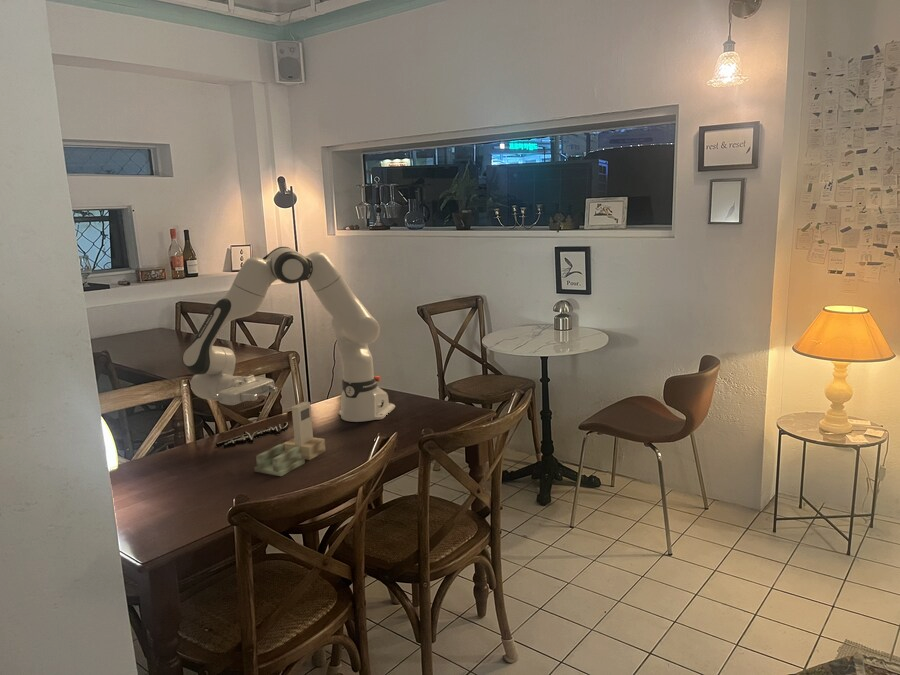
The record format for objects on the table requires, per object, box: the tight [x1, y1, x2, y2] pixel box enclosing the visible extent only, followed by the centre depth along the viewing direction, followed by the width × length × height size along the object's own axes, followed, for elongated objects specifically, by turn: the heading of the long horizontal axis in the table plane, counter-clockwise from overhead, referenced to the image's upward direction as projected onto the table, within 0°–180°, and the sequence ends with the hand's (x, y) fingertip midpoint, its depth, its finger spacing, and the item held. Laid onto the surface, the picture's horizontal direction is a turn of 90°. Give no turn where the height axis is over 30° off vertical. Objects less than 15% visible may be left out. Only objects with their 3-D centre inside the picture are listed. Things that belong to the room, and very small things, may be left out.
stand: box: [282, 436, 326, 461], centre depth 214 cm, size 8×10×4 cm
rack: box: [253, 443, 306, 477], centre depth 203 cm, size 11×10×5 cm
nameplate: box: [215, 421, 290, 449], centre depth 231 cm, size 27×2×10 cm
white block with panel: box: [291, 401, 314, 445], centre depth 212 cm, size 6×3×12 cm, turn 154°
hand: (266, 393), depth 216 cm, fingers open, 8 cm apart
